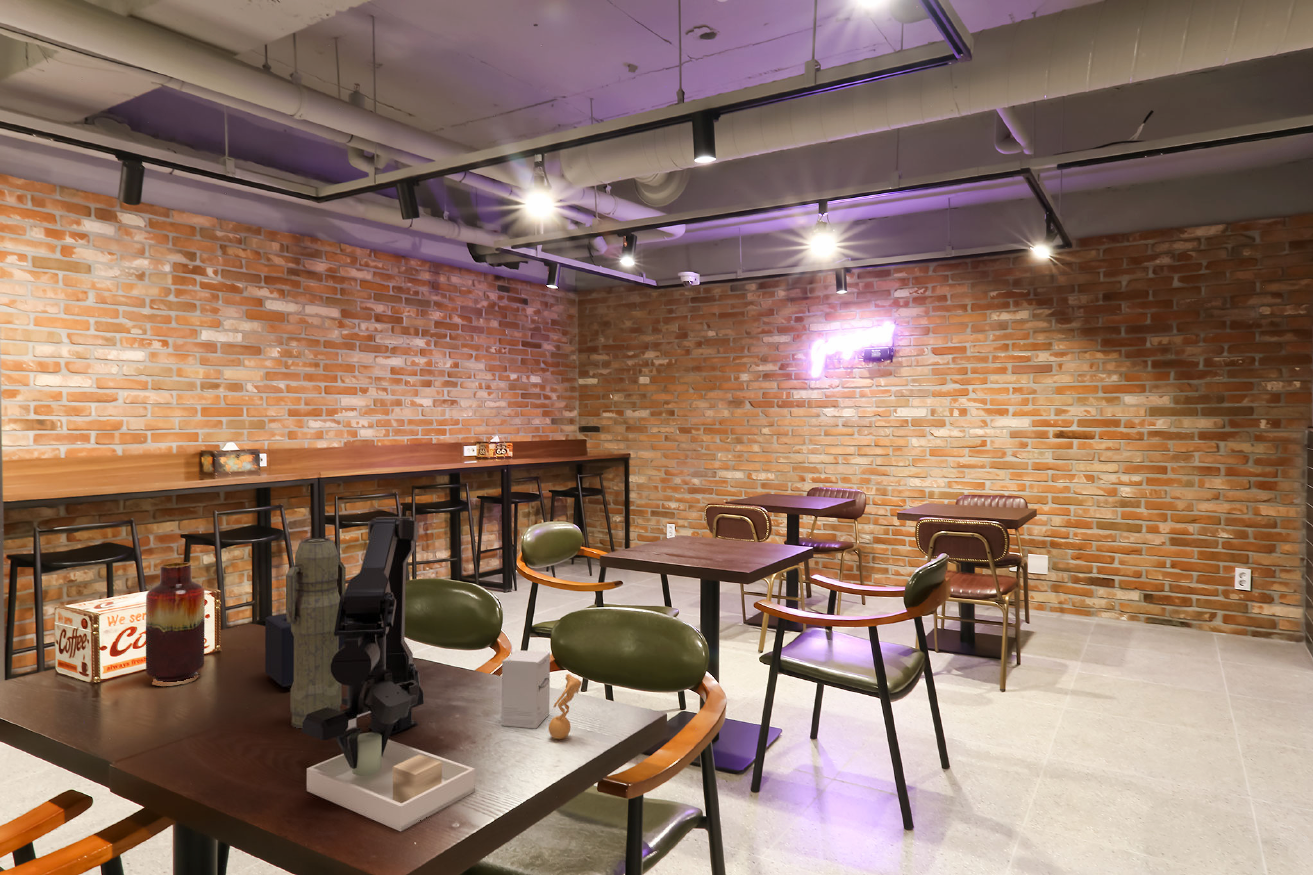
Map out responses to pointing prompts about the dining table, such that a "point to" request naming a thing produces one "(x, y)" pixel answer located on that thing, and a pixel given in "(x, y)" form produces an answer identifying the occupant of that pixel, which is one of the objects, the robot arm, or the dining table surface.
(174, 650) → the vase
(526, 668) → the supplement box
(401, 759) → the bin
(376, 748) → the green cylinder
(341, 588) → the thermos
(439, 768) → the beech cube
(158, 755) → the dining table surface
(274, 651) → the speaker
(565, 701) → the figurine
